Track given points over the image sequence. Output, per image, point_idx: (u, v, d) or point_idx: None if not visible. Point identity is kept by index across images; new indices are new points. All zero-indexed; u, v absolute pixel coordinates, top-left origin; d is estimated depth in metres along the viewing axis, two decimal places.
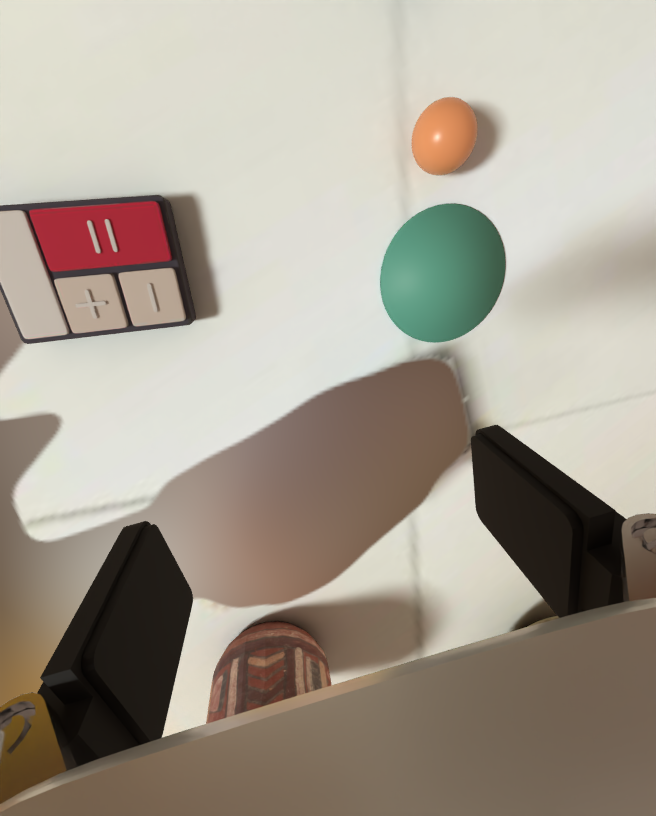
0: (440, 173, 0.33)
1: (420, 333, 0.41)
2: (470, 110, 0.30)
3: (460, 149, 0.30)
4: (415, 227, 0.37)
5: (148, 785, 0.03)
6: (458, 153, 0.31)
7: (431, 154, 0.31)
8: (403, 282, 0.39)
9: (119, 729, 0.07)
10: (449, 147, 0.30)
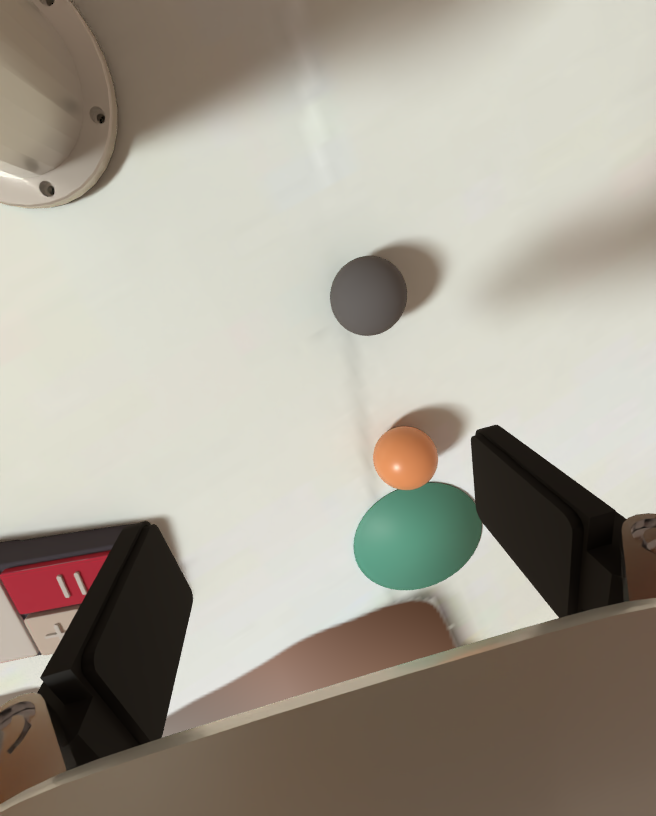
0: None
1: (399, 584, 0.41)
2: (428, 452, 0.29)
3: (420, 484, 0.30)
4: (386, 507, 0.36)
5: (148, 785, 0.03)
6: (419, 486, 0.30)
7: (391, 485, 0.31)
8: (377, 548, 0.38)
9: (120, 729, 0.07)
10: (409, 486, 0.30)
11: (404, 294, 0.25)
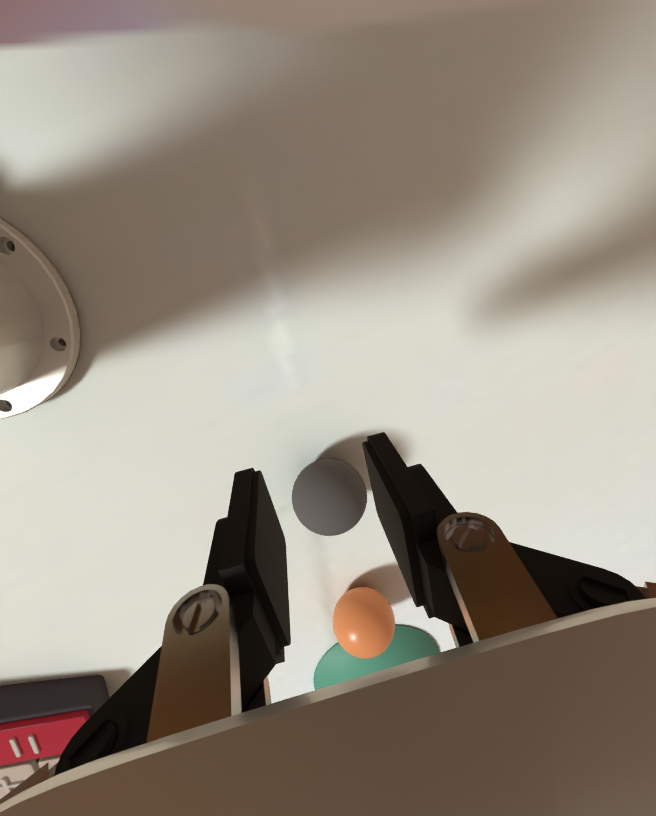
0: None
1: None
2: (384, 629, 0.30)
3: None
4: None
5: (148, 785, 0.03)
6: (374, 656, 0.31)
7: None
8: (337, 681, 0.39)
9: (268, 624, 0.08)
10: (364, 658, 0.31)
11: (363, 505, 0.25)
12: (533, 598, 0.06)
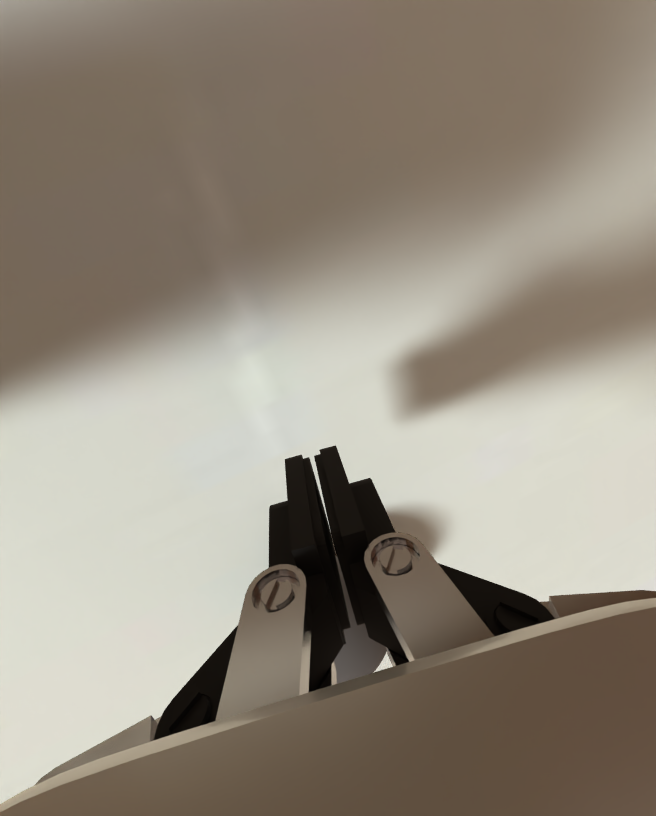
0: None
1: None
2: None
3: None
4: None
5: (148, 785, 0.03)
6: None
7: None
8: None
9: (334, 606, 0.08)
10: None
11: None
12: (463, 611, 0.06)
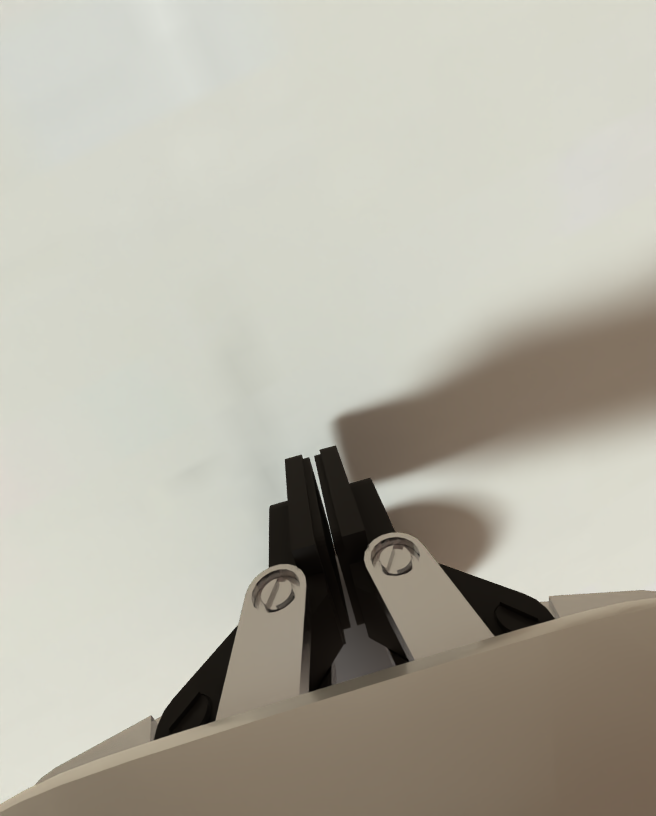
0: None
1: None
2: None
3: None
4: None
5: (148, 785, 0.03)
6: None
7: None
8: None
9: (333, 606, 0.08)
10: None
11: None
12: (463, 612, 0.06)
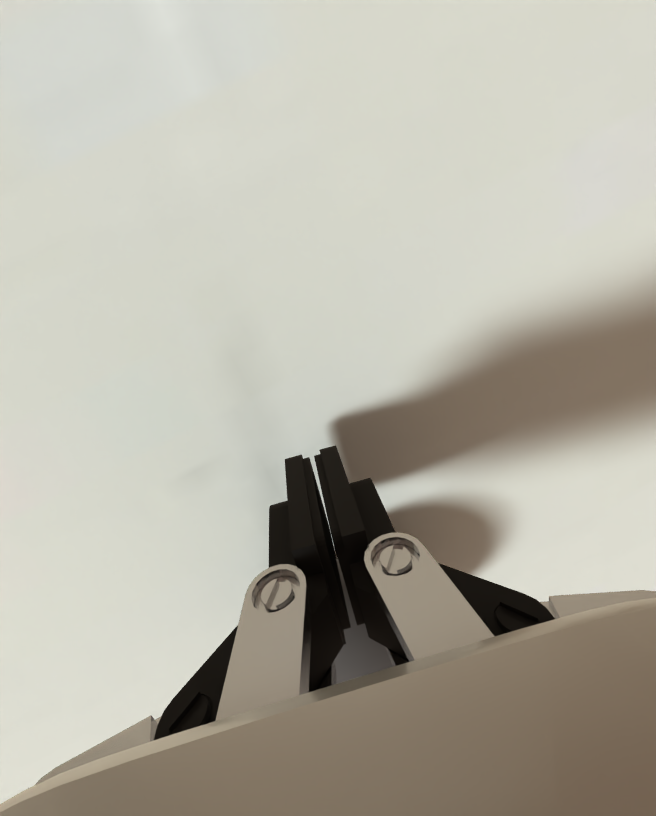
0: None
1: None
2: None
3: None
4: None
5: (148, 785, 0.03)
6: None
7: None
8: None
9: (334, 605, 0.08)
10: None
11: None
12: (463, 611, 0.06)
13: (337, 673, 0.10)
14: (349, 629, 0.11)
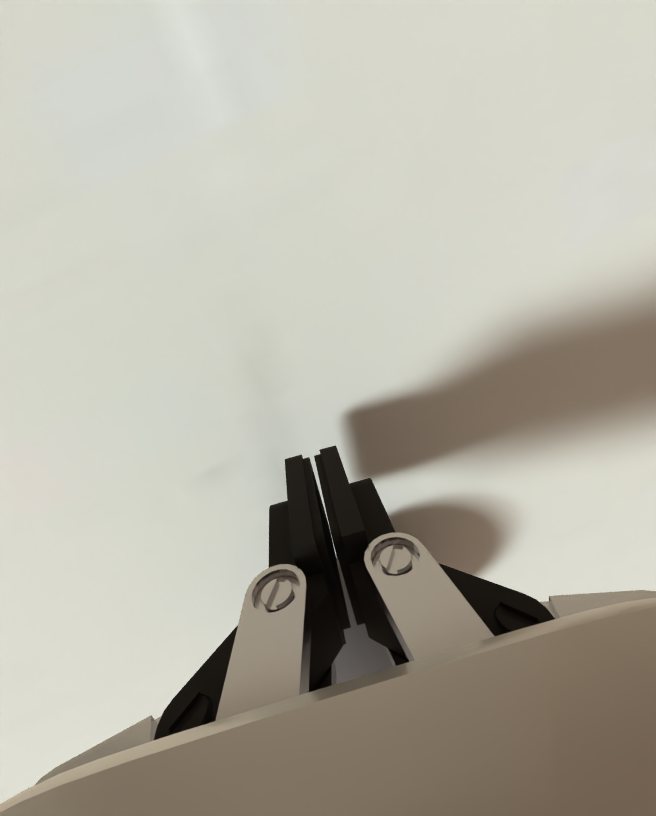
0: None
1: None
2: None
3: None
4: None
5: (148, 785, 0.03)
6: None
7: None
8: None
9: (334, 605, 0.08)
10: None
11: None
12: (463, 612, 0.06)
13: (348, 663, 0.11)
14: None
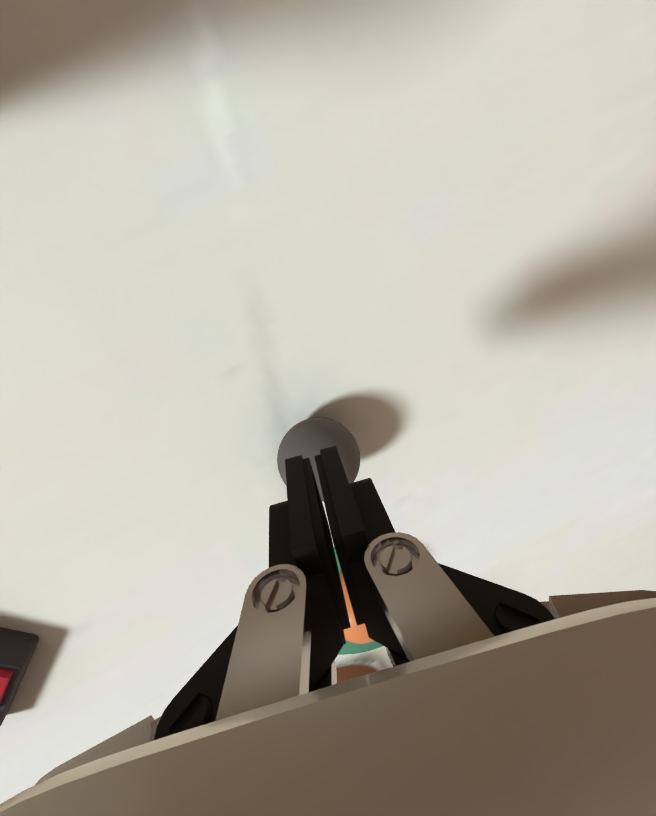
0: (344, 583, 0.29)
1: None
2: None
3: None
4: None
5: (148, 785, 0.03)
6: None
7: None
8: None
9: (333, 605, 0.08)
10: None
11: None
12: (463, 611, 0.06)
13: (302, 454, 0.22)
14: (308, 436, 0.22)
